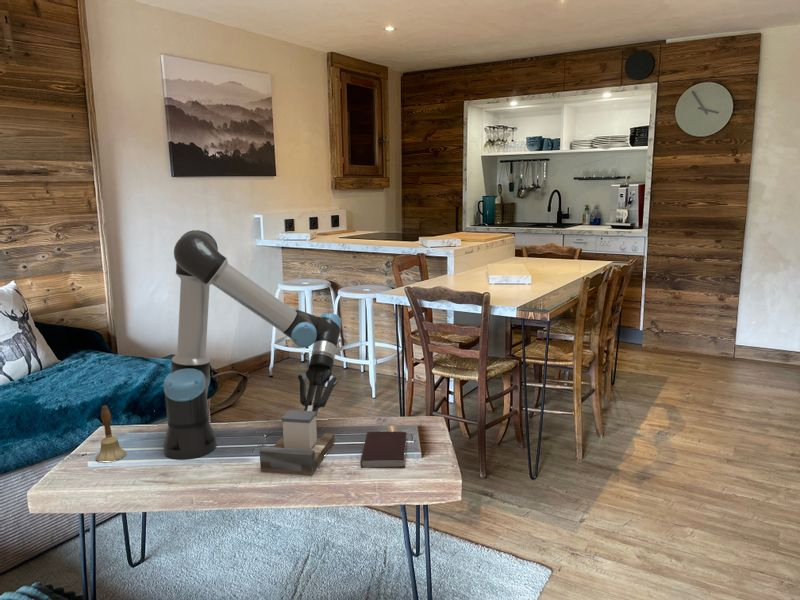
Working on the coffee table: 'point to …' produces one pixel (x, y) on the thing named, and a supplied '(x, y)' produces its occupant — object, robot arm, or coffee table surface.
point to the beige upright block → (299, 429)
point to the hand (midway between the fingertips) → (307, 427)
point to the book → (384, 450)
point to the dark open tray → (295, 457)
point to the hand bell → (109, 440)
